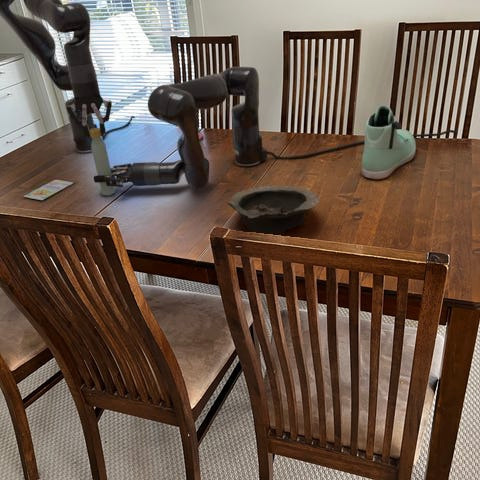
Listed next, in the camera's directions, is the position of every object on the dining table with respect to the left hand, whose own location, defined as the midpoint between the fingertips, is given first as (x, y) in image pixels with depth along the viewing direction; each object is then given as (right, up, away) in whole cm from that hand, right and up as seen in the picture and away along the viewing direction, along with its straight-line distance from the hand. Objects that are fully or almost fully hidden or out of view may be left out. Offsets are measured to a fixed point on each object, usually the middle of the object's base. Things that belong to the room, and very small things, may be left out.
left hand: (96, 135), depth 149 cm
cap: (0, +1, -1) cm, 2 cm away
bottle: (+1, -17, +10) cm, 20 cm away
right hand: (-2, -12, +7) cm, 14 cm away
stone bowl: (+54, -27, -14) cm, 63 cm away
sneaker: (+96, -5, +17) cm, 98 cm away
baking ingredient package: (-21, -15, +16) cm, 30 cm away
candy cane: (+25, +7, +47) cm, 53 cm away
